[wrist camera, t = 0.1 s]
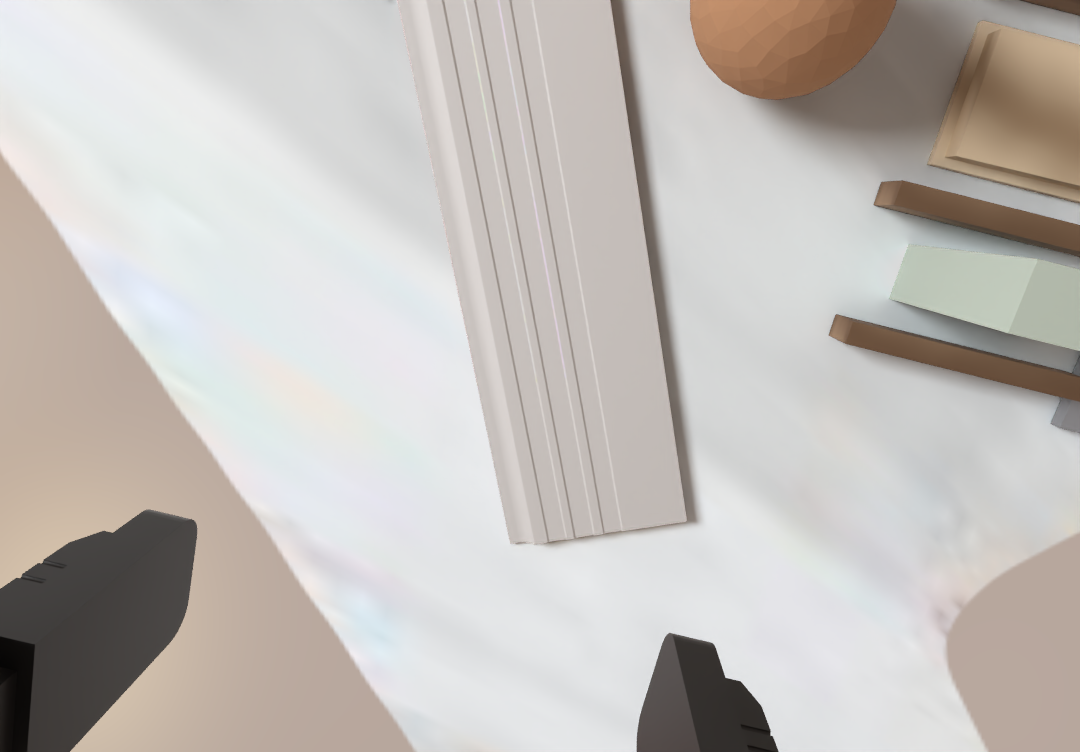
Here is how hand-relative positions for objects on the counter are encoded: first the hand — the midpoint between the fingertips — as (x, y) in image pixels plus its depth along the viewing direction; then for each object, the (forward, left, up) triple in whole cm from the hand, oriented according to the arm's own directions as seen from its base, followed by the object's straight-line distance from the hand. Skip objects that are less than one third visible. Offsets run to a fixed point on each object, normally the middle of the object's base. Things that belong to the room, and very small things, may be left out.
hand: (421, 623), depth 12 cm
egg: (-18, +8, -30) cm, 35 cm away
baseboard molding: (-3, 0, -30) cm, 30 cm away
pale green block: (-8, +23, -29) cm, 38 cm away
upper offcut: (-17, +23, -29) cm, 40 cm away
